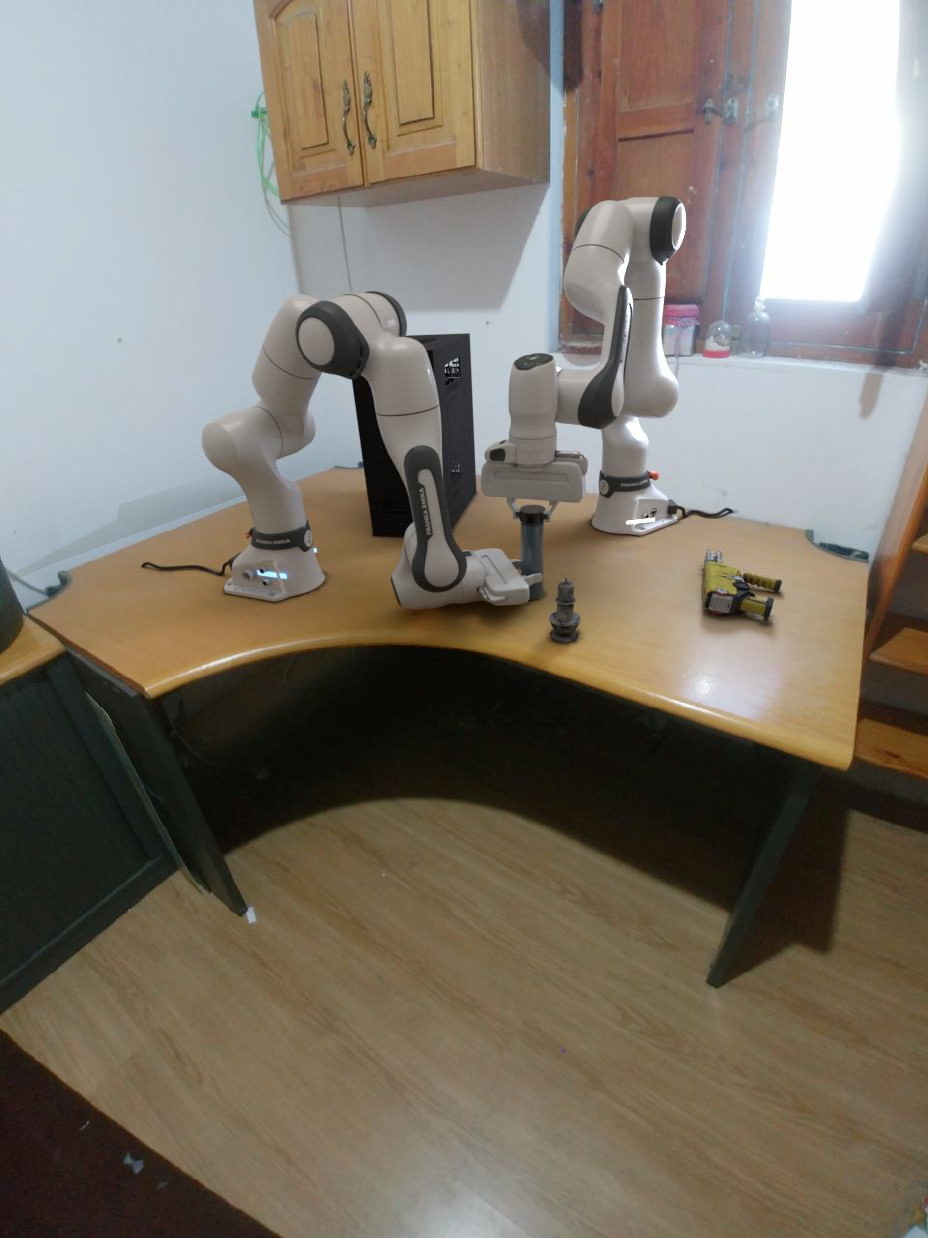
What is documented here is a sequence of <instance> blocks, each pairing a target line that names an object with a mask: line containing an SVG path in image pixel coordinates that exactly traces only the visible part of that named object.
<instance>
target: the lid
mask: <svg viewBox="0 0 928 1238" xmlns="http://www.w3.org/2000/svg"><path fill="white" fill-rule="evenodd" d="M519 509H520V515H519V516H520V519H519V521H520V523H521V522H522V523H525V524H539V523H542V522H544V521H543V519H544V517H543V513H545V511H547V509H546V507H545V506H543V505H541V504H526V505H522V506H521V507H519ZM544 523H545V522H544Z"/></svg>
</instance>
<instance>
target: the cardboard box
mask: <svg viewBox="0 0 928 1238" xmlns="http://www.w3.org/2000/svg"><path fill="white" fill-rule="evenodd" d="M406 337H408V338H412V339H414V340H417V341H418V342H420V343H421V344H422V345H423V346H424V348H425V349H426V351H427V354H428V357H429V360H430V363H431V367H432V370H433V374H434V378H435V382H436V387H437V392H438V399H439V406H440V415H441V430H442V465H443V481H444V488H445V494H446V500H447V506H448V512H449V518H450V524H451V530H452V531H453V529H454V528H455V526H456V524H457V523H458V521H459V520H460V518H461V517H462V515H463V514H464V512H465V511H466V509H467V507H468V506H469V505H470V503H471V502H472V500H473V498H474V497H475V495H476V494H477V471H476V470H477V469H476V448H475V446H476V445H475V426H474V424H475V423H474V422H475V421H474V401H473V377H472V355H471V352H472V351H471V334H470V333H469V332H467V333H440V334H439V333H437V334H413V335H412V334H410V335H407V334H406ZM450 364H451V365H450ZM353 375H354V374H353ZM351 385H352V392H353V399H354V407H355V415H356V420H357V429H358V437H359V442H360V450H361V451H360V452H361V458H362V465H363V473H364V482H365V487H366V495H367V502H368V509H369V518H370V524H371V525H370V526H371V532H372V536H377V537H378V536H379V537H398V538H399V537H400V538H404V534H405V531H406V529H407V528H408V526H409V525H410V524H411V523H412V522H414V521H413V516H412V510H411V505H410V500H409V496H408V492H407V489H406V487H405V484H404V482H403V480H402V478H401V475H400V474H399V472H398V470H397V468H396V466H395V464H394V463H393V461H392V459H391V457H390V455H389V453H388V451H387V449H386V447H385V444H384V441H383V438H382V435H381V432H380V429H379V425H378V421H377V416H376V411H375V404H374V398H373V393H372V389H371V386H370V384H369V382H368V381H367V380H366V379H365V378H364V377H363V376H362V375H360V376H359V377H358V378H356V379H355V380H351Z"/></svg>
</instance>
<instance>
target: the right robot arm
mask: <svg viewBox="0 0 928 1238" xmlns="http://www.w3.org/2000/svg"><path fill="white" fill-rule="evenodd" d="M686 218H687V217H686V209H685V206H684V204H683V203H682V201H681V199H680V198H678V197H675V196H671V195H660V196H659V197H657V196H637V197H628V198H627V199H622V200H611V199H609V200H608V199H607V200H602V201H600V202H598V203H596V204H594V205H592V206H589V207H587V208H585V209H584V210H583V211H582V213H581V215H579V217H578V218H577V221H576V224H575V228H574V234H573V241H574V242H573V245H572V248H571V250H570V253H569V257H568V260H567V262H566V265H565V270H564V274H563V283H562V284H563V290H564V291H563V292H564V294H565V297H566V298H567V300H568V302H569V303H570V305H571V306H572V307H573V308H574V309H575V310H576V311H577V312H579V313H580V314H582V315H583V316H585V317H588V318H590V319H592V320H594V321H596V322H598V323H600V324H602V325H603V326H604V329H603V330H604V331H603V338H602V345H601V351H600V359H599V364H598V365H597V366H596V367H594V368H593V369H569V368H562V367H560V366H558V365H557V364H556V359H555V357H554V356H553V355H552V354H549V353H546V352H545V353H544V352H536V353H530V354H525V355H521V356H520V357H518V358H517V359H515V360H514V361H513V363H512V365H511V369H510V374H509V382H508V413H509V417H510V426H509V431H508V438H505V439H502V440H499V441H496V442H495V443H493V444H491V445H489V447H487V448H486V449H485V451H484V459H485V462H484V463H483V465H482V467H481V472H480V491H481V493H482V494H483V496H485V497H491V498H493V497H494V498H506V504H507V506H508V507H509V509H510V510H511V512H512V519H513V520H520V516H519V515H520V507H518V505H517V503H516V501H517V499H519V500H534V501H546V502H547V501H548V506H549V507H550V509H549V510H546V511H545V513H543V517H544V519H543V521H544V523H552V521H553V515H554V514H553V513H554V511H555V510H556V507H557V506H558V505H559V502H561V503H574V504H575V503H576V504H578V503H580V502H581V501H583V499H584V498H585V496H586V494H587V483H586V474H587V473H588V470H589V469H588V468H589V460H588V458H587V457H586V456H585V454H583V453H581V452H580V451H576V450H573V451H568V450H567V451H566V450H557V447H558V446H557V445H558V444H557V443H558V442H557V441H558V429H557V425H556V423H557V424H562V425H563V424H564V425H572V426H574V425H575V426H582V427H585V428H588V429H589V428H590V429H595V430H600V434H601V441H602V442H601V443H602V444H601V445H602V447H601V468H600V470H599V474H598V492H599V493H598V498H597V502H596V507H595V511H594V514H593V517H592V520H591V525H592V526H593V527H594V528H595V529H597V530H599V531H601V532H605V533H611V534H623V535H625V534H626V535H632V536H633V535H634V536H645V535H646V534H650V533H652V532H654V531H657V530H660V529H662V528H665V527H668V526H670V525H672V524H675V523H677V522H678V516H677V514H678V510H680V511H681V516H682V517H683V518H687V517H688V516H689V515H690V514H698V515H701V516H704V517H709V518H713V517H714V518H716V517H719V516H721V515H722V514H724V513H725V512H728V513H731V514H733V513H734V510H733V509H732V508H730V507H724V508H722V509H721V510H719V511H717V512H714V513H709V512H705V511H703V510H698V509H690V510H687V512H686V508H685V507H684V506H682V505H678V504H677V503H676V502H675V500H673V499H671V498H670V499H669V498H668V497H667V496H666V495H665V494H664V493H663V492H661V491H660V490H659V489H658V488H656V487H655V486H654V485H652V483H651V480H653V481H658V479H659V478H660V473H659V472H657V471H654V470H651V471H649V470H648V469H647V466H648V458H649V457H648V455H649V447H650V442H649V437H648V435H647V434H646V433H645V431H644V430H643V428H642V427H641V424H640V422H639V419H642V420H653V419H662V418H664V417H667V416H668V415H669V414H671V413H672V411H673V410H674V409H675V407H676V406H677V403H678V401H679V398H680V384H679V381H678V379H677V378H676V377H675V375H674V374H673V373H672V371H671V369H670V368H669V366H668V363H667V360H666V356H665V353H664V347H663V339H662V327H663V326H662V325H663V313H664V303H665V292H666V291H665V290H666V263H667V262H668V260H669V259H670V258H672V257H673V256H674V255H675V253H676V252H677V251H678V250H679V249H680V247H681V245H682V243H683V239H684V236H685V231H686V225H687V223H686V222H687V220H686ZM729 508H730V509H729Z"/></svg>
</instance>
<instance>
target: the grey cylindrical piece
mask: <svg viewBox="0 0 928 1238" xmlns="http://www.w3.org/2000/svg"><path fill="white" fill-rule="evenodd" d="M520 560H521V569H520V575H521V576H524V575H526V576H529V575H531V574H532V572H537V571H539V572H540V573H541V574H542V581H541V582H538V583H534V584H532V585H531V586H529V600H530V601H531V600H533V601H534V600H539V599H542V598H543V596H544V574H545V573H544V571H545V569H544V567H545V566H544V564H545V563H544V562H545V522H542V523H539V524H525V523H522V522H521V521H520ZM529 600H528V601H529Z"/></svg>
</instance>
